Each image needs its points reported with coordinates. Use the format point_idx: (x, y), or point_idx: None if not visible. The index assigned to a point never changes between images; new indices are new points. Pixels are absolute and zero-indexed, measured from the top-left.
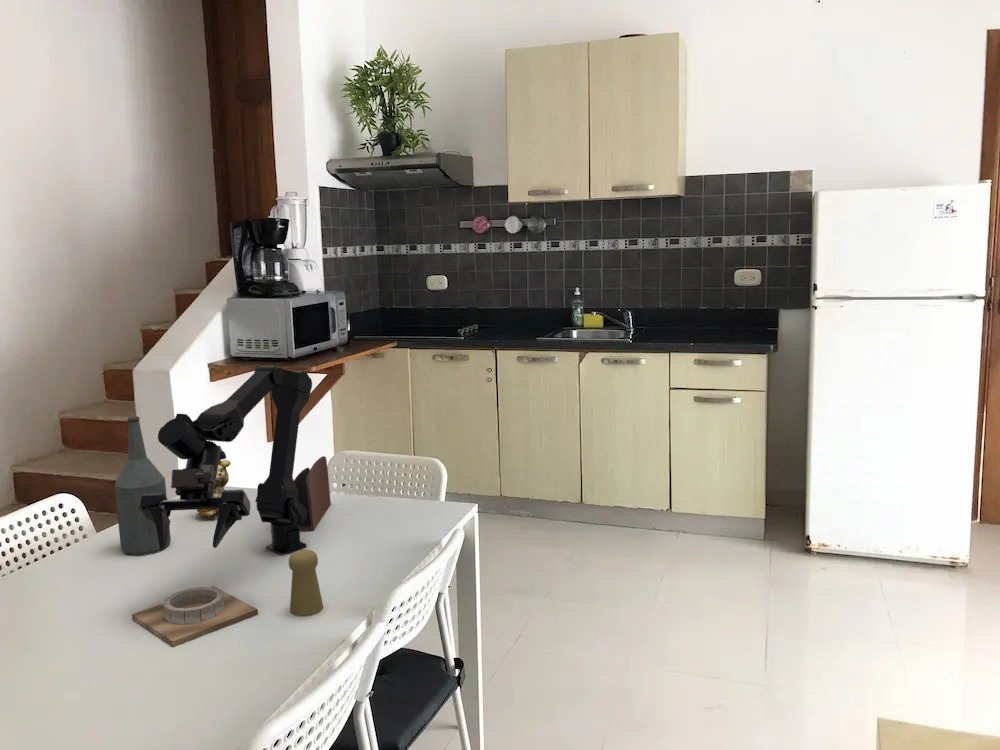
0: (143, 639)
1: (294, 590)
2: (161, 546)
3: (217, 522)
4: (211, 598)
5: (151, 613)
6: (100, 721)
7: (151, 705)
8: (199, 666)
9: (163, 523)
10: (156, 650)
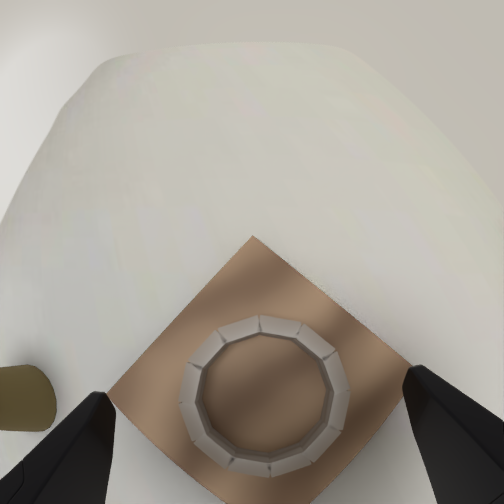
0: (339, 275)
1: (8, 378)
2: (415, 367)
3: (32, 492)
4: (237, 450)
5: (375, 380)
6: (263, 62)
7: (212, 85)
8: (171, 171)
9: (493, 481)
10: (284, 226)
